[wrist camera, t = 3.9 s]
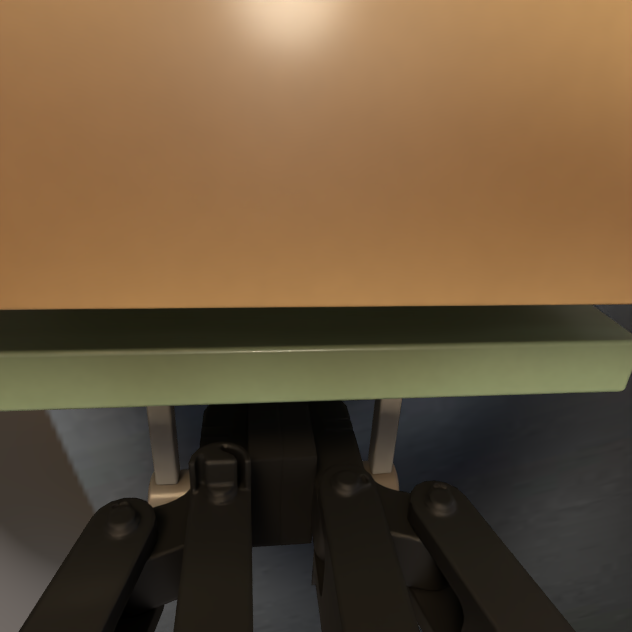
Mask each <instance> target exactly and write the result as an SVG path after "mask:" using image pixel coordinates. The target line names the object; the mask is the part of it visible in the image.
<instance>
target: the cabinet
mask: <svg viewBox="0 0 632 632" xmlns="http://www.w3.org/2000/svg"><path fill="white" fill-rule="evenodd" d="M606 304H632V0H0V310H41V309H154V308H267V307H380V306H493V305H606Z"/></svg>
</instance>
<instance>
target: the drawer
mask: <svg viewBox="0 0 632 632" xmlns="http://www.w3.org/2000/svg"><path fill="white" fill-rule="evenodd" d="M631 372H632V334H631V333H630V332H629V331H627V330H626V329H624V328H623V327H622V326H620V325H619V324H618V323H616V322H615V321H613V320H612V319H611V318H609V317H608V316H607V315H605V314H604V313H602V312H601V311H600V310H598V309H597V308H595V307H594V306H593V305H493V306H380V307H267V308H154V309H41V310H0V411H23V410H55V409H86V408H117V407H146V408H147V416H148V424H149V432H150V440H151V449H152V457H153V465H154V472H153V474H152V477H151V480H150V484H149V491H148V503H149V504H150V505H151V506H152V507H157V506H160V505H163V504H166V503H169V502H171V501H174V500H176V499H178V498H179V497H181V496H183V495H184V494H185V493H186V492H187V491H188V490H189V489H190V477H189V469H182V470H180V462H179V452H178V441H177V430H176V420H175V409H174V406H180V405H211V404H242V403H274V402H305V401H336V400H367V399H375V405H374V414H373V422H372V431H371V439H370V447H369V456H368V461H362V462H363V466H364V468H365V470H366V471H367V472H369V473H370V474H371V475H372V477H373V479H374V481H375V482H377V483H378V484H380V485H382V486H384V487H387V488H390V489H393V490H398V491H399V482H398V476H397V472H396V469H395V466H394V464H393V457H394V450H395V443H396V437H397V430H398V423H399V416H400V410H401V403H402V398H430V397H461V396H492V395H524V394H555V393H586V392H617V391H623V390H624V389H625V388H626V385H627V382H628V380H629V377H630V374H631Z"/></svg>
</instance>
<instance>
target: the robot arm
mask: <svg viewBox="0 0 632 632" xmlns="http://www.w3.org/2000/svg"><path fill="white" fill-rule="evenodd" d="M188 464H189V477H190V489H189V490H188V491H187V492H186V493H185V494H184V495H183V496H181V497H179V498H178V499H176V500H174V501H171V502H169V503H166V504H163V505H160V506H157V507H152V506H151V505H150V504H149V503H148V502H147V501H144V500H141V499H138V498H122V499H119V500H116V501H112V502H110V503H108V504H107V505H105V506H103V507H102V508H100V509H99V510H98V511H97V512H96V513H95V514H94V516H93V517H92V518H91V519H90V521H89V523H88V524H87V526H86V527H85V529H84V530H83V532H82V533H81V535H80V537H79V538H78V540H77V541H76V543H75V544H74V546H73V547H72V549H71V551H70V552H69V554H68V555H67V557H66V558H65V560H64V562H63V563H62V565H61V566H60V568H59V569H58V571H57V572H56V574H55V576H54V577H53V579H52V580H51V582H50V583H49V585H48V587H47V588H46V590H45V591H44V593H43V594H42V596H41V598H40V599H39V601H38V602H37V604H36V606H35V607H34V609H33V610H32V612H31V613H30V615H29V617H28V618H27V620H26V621H25V623H24V624H23V626H22V627H21V629H20V630H19V632H154V631H155V629H156V626H157V624H158V621H159V619H160V616H161V614H162V611H163V609H164V604H167V603H169V602H172V601H174V600H177V607H176V616H175V624H174V632H253V595H252V547H260V546H275V545H290V544H305V543H311V540H312V535H313V542H314V557H313V571H312V585H316V590H317V598H318V606H319V613H320V621H321V629H322V632H420V630H419V627H418V624H419V626H420V628H421V629H422V631H423V632H575V630H574V629H573V628H572V627H571V625H570V624H569V623H568V622H567V620H566V619H565V618H564V617H563V616H562V614H561V613H560V612H559V611H558V609H557V608H556V607H555V606H554V604H553V603H552V602H551V601H550V600H549V598H548V597H547V596H546V595H545V593H544V592H543V591H542V590H541V588H540V587H539V586H538V585H537V584H536V582H535V581H534V580H533V579H532V577H531V576H530V575H529V574H528V572H527V571H526V570H525V569H524V568H523V566H522V565H521V564H520V563H519V561H518V560H517V559H516V558H515V556H514V555H513V554H512V553H511V552H510V550H509V549H508V548H507V547H506V545H505V544H504V543H503V542H502V540H501V539H500V538H499V537H498V536H497V534H496V533H495V532H494V531H493V529H492V528H491V527H490V526H489V524H488V523H487V522H486V521H485V520H484V518H483V517H482V516H481V515H480V513H479V512H478V511H477V510H476V508H475V507H474V506H473V505H472V503H471V502H470V501H469V500H468V499H467V497H466V496H465V495H464V494H463V493H462V492H461V491H459V490H458V489H457V488H456V487H454V486H452V485H450V484H448V483H444V482H440V481H424V482H422V483H420V484H418V485H416V486H415V488H414V489H413V490H412V492H411V493H407V492H403V491H398V490H393V489H390V488H387V487H384V486H382V485H380V484H378V483H377V482H375V481H374V479H373V477H372V475H371V474H370V473H369V472H367V471H366V470H365V468H364V466H363V462H362V459H361V455H360V452H359V448H358V445H357V441H356V438H355V434H354V431H353V427H352V423H351V421H350V416H349V413H348V409H347V406H346V405H345V404H344V403H343V402H342V401H341V400H336V401H305V402H274V403H242V404H211V405H208V407H207V408H206V409H205V411H204V414H203V422H202V431H201V439H200V448H199V449H198V450H197V451H196V452H195V453H194V454H193V455H192V456H191V459H190V461H189V463H188ZM417 622H418V624H417Z"/></svg>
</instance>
